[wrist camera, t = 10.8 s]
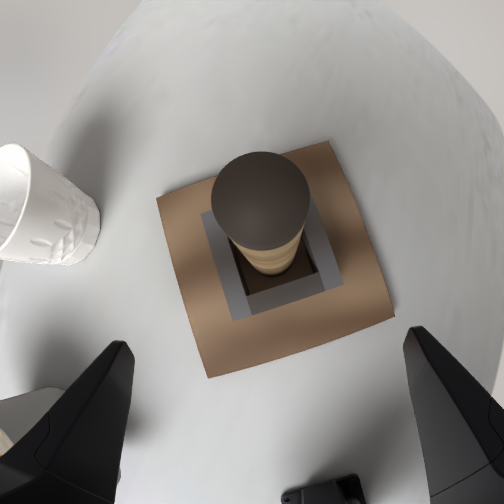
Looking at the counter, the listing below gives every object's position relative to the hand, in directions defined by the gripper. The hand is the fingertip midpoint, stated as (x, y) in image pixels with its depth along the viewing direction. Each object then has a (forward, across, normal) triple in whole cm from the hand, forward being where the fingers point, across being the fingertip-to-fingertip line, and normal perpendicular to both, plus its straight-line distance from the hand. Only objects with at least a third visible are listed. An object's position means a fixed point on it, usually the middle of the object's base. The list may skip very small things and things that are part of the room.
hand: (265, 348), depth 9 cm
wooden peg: (+12, 0, +6) cm, 13 cm away
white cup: (+16, +18, +4) cm, 24 cm away
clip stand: (+13, 0, +6) cm, 14 cm away
